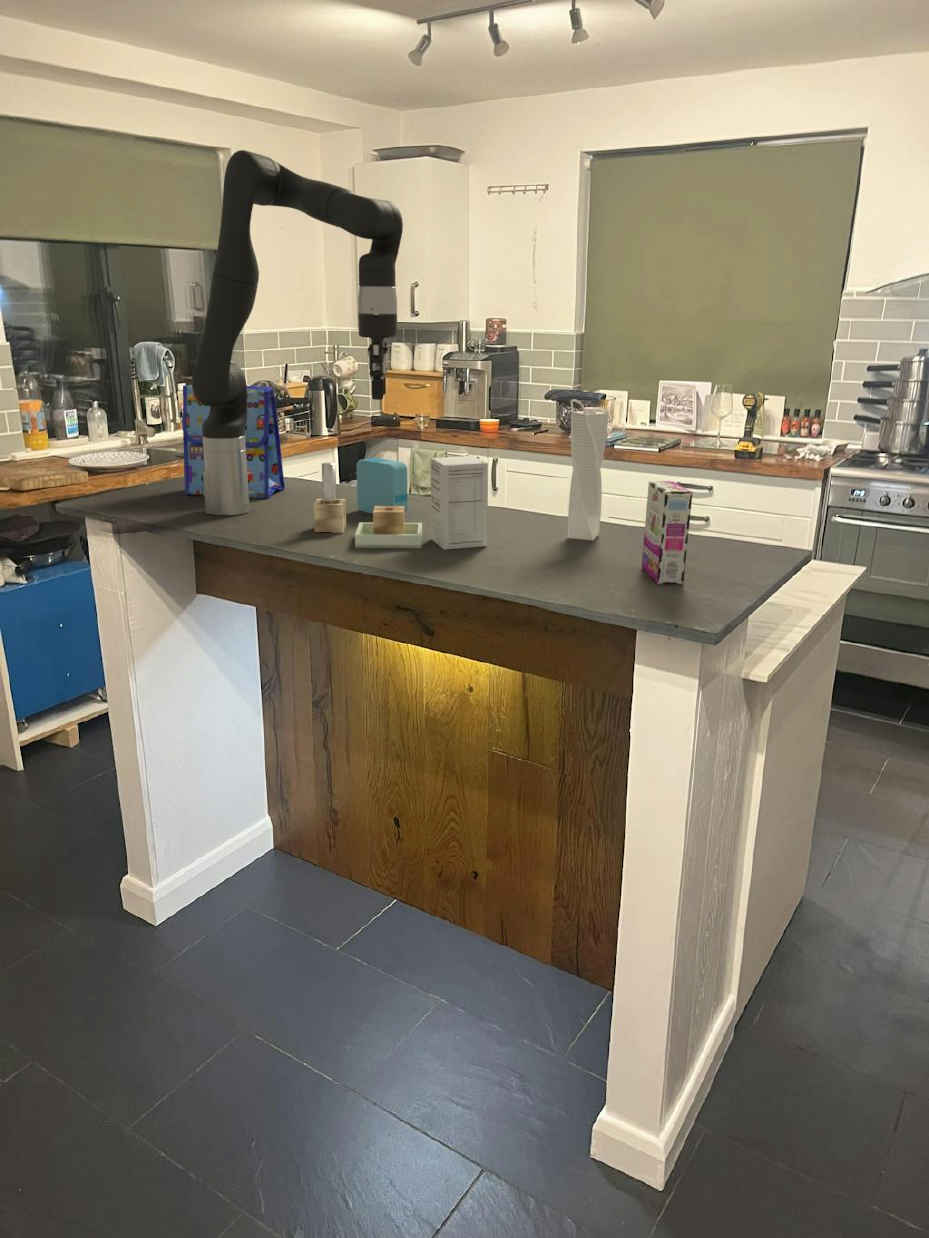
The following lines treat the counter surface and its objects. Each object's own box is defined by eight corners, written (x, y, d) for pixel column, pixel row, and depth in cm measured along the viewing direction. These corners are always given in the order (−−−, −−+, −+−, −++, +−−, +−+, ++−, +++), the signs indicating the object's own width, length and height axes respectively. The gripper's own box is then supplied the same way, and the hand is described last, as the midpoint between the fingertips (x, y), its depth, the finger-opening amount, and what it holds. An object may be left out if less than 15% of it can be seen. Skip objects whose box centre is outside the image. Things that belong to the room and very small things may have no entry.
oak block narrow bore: (373, 541, 187) (373, 512, 185) (375, 534, 192) (374, 506, 190) (403, 541, 187) (403, 512, 185) (404, 534, 193) (404, 506, 191)
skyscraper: (559, 538, 194) (565, 400, 185) (568, 530, 200) (574, 397, 191) (597, 542, 191) (605, 402, 182) (604, 534, 198) (613, 399, 189)
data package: (408, 515, 213) (407, 462, 209) (394, 518, 210) (393, 465, 206) (370, 507, 220) (369, 456, 217) (356, 510, 217) (355, 459, 213)
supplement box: (473, 536, 195) (474, 455, 189) (488, 546, 186) (490, 462, 181) (429, 539, 192) (429, 457, 186) (442, 550, 184) (443, 464, 178)
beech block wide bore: (314, 532, 196) (313, 504, 194) (318, 526, 202) (317, 498, 200) (343, 533, 196) (342, 504, 194) (346, 526, 202) (345, 499, 200)
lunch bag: (184, 496, 231) (173, 376, 222) (206, 486, 244) (197, 372, 234) (269, 499, 228) (262, 378, 219) (286, 489, 241) (280, 373, 232)
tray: (355, 547, 184) (354, 535, 183) (359, 534, 195) (359, 522, 194) (421, 548, 185) (421, 535, 184) (422, 535, 195) (422, 522, 194)
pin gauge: (323, 530, 198) (320, 464, 193) (324, 527, 200) (322, 462, 196) (336, 531, 198) (334, 464, 193) (338, 528, 200) (335, 462, 196)
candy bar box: (685, 585, 162) (694, 492, 157) (657, 585, 162) (664, 492, 157) (667, 568, 173) (674, 480, 168) (640, 568, 173) (647, 480, 167)
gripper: (361, 311, 188) (362, 393, 193) (355, 311, 174) (357, 400, 179) (398, 311, 188) (399, 394, 193) (395, 312, 174) (396, 401, 180)
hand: (378, 397), depth 186 cm, fingers open, 8 cm apart
